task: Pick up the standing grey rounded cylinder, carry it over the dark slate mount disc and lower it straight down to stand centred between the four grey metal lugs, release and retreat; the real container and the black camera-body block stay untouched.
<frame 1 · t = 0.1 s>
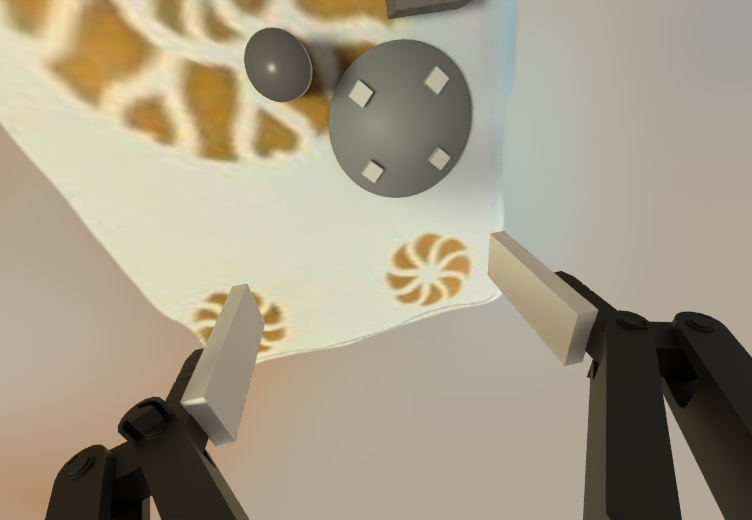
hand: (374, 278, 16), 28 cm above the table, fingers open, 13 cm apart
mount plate: (399, 126, 39), on the table
grey rounded cylinder: (288, 70, 34), on the table
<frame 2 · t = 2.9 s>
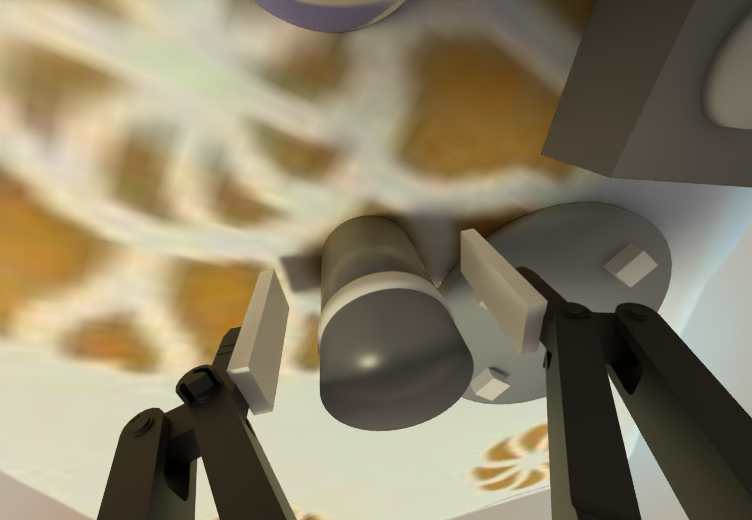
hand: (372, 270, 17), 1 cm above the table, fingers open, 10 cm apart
camera body block: (656, 30, 15), on the table
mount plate: (538, 315, 23), on the table
grey rounded cylinder: (367, 258, 18), on the table
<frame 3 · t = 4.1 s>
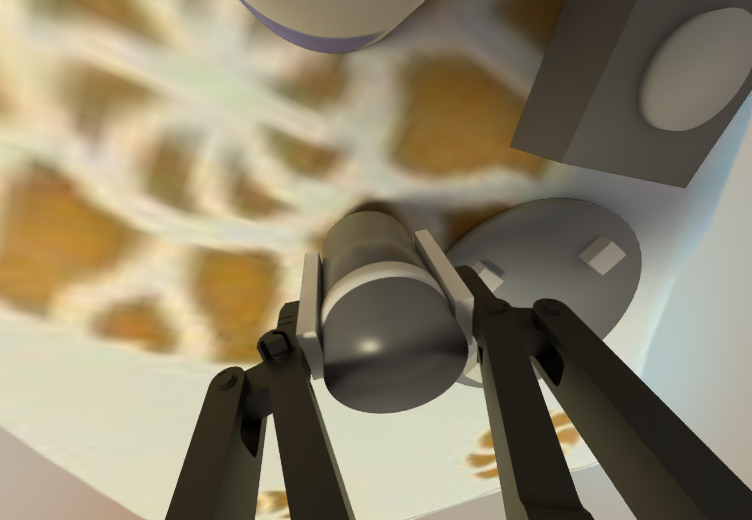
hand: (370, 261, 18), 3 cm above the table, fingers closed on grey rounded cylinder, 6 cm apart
camera body block: (611, 48, 17), on the table
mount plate: (522, 303, 25), on the table
grey rounded cylinder: (366, 252, 19), point 2 cm above the table, touching gripper
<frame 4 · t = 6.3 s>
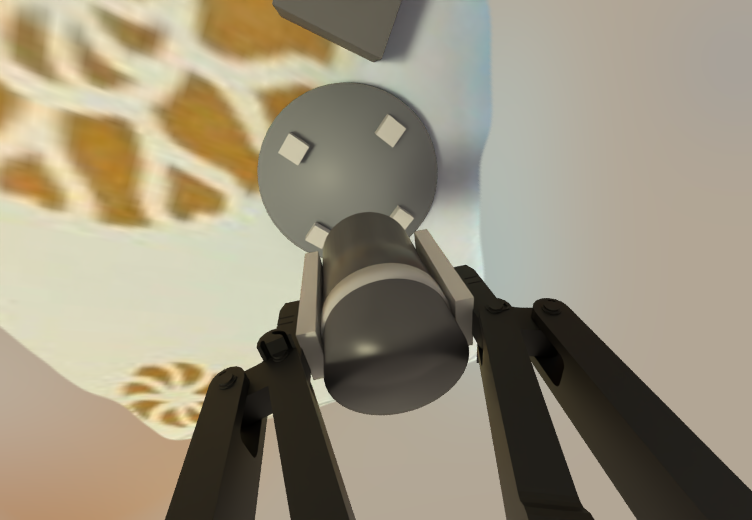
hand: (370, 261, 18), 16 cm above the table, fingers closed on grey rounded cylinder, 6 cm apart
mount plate: (350, 182, 32), on the table
grey rounded cylinder: (367, 253, 19), point 15 cm above the table, touching gripper
when the fingers open (3 cm above the table, at t = 8.4 s): grey rounded cylinder stays where it is, resting on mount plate.
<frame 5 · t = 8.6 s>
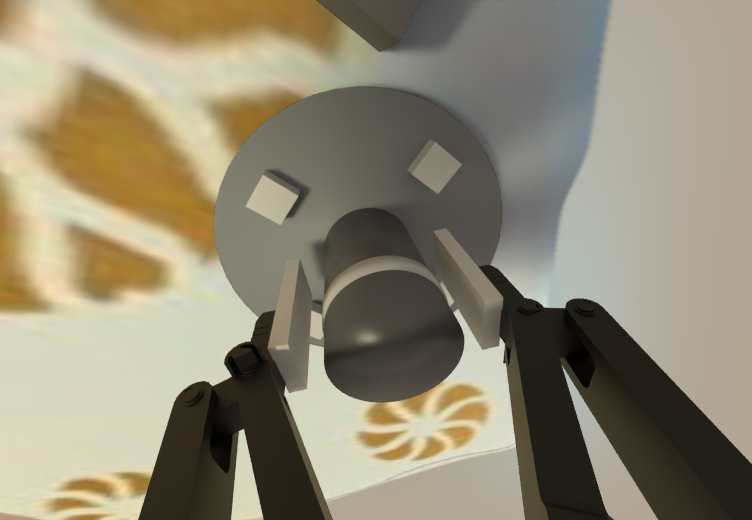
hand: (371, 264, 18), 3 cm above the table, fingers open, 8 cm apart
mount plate: (364, 240, 20), on the table
grey rounded cylinder: (367, 248, 19), point 1 cm above the table, touching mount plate
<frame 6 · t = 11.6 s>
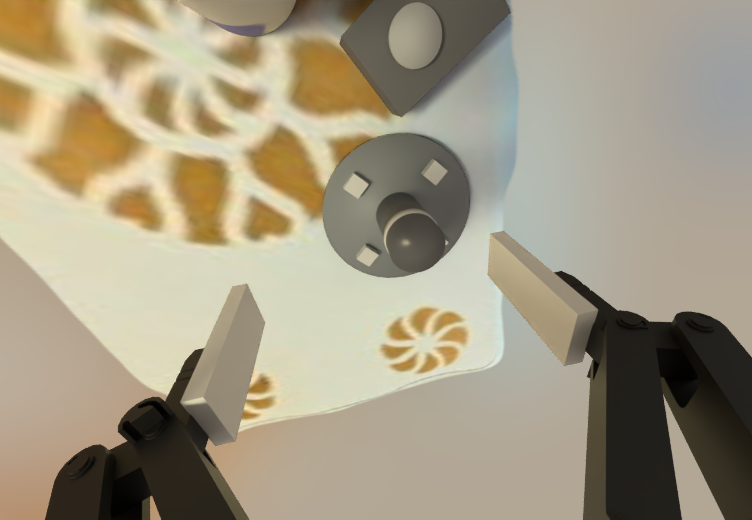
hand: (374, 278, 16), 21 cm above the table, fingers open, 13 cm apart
camera body block: (412, 33, 29), on the table
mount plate: (396, 211, 38), on the table
grey rounded cylinder: (398, 214, 37), point 1 cm above the table, touching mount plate
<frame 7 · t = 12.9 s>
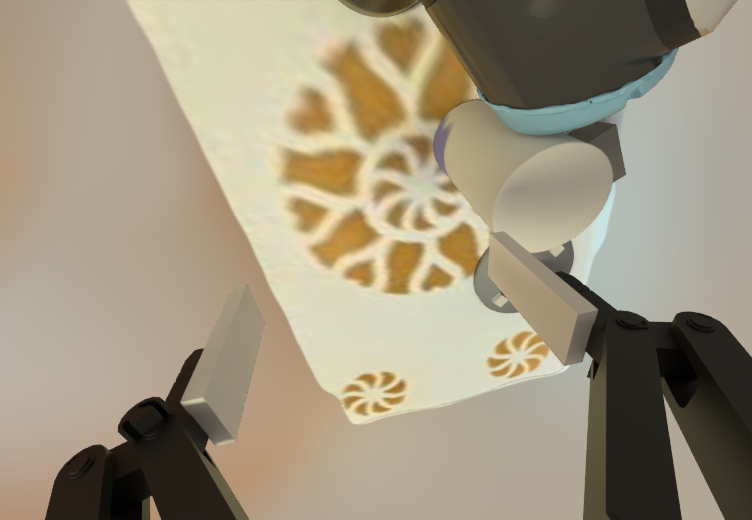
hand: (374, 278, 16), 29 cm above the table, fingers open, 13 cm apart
camera body block: (556, 168, 46), on the table
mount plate: (521, 270, 55), on the table
container: (468, 140, 41), on the table
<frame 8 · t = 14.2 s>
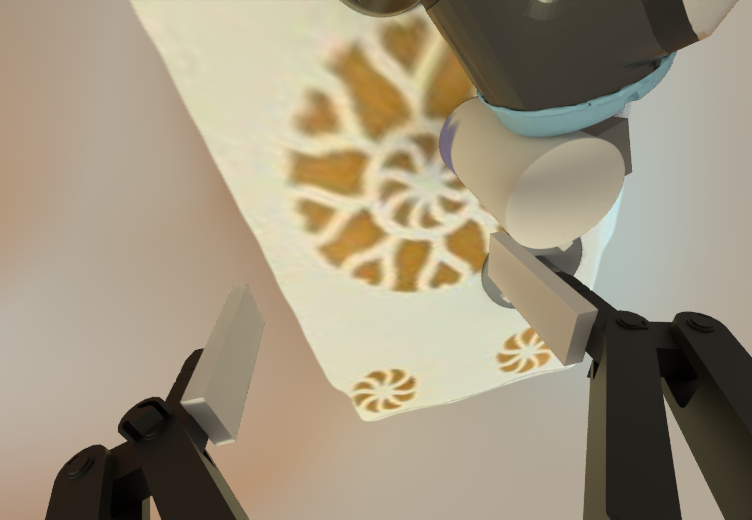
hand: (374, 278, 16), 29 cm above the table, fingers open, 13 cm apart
camera body block: (563, 162, 46), on the table
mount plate: (529, 265, 55), on the table
container: (474, 137, 41), on the table, touching arm
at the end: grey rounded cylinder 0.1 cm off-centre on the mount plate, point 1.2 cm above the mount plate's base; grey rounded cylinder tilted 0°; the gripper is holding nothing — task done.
